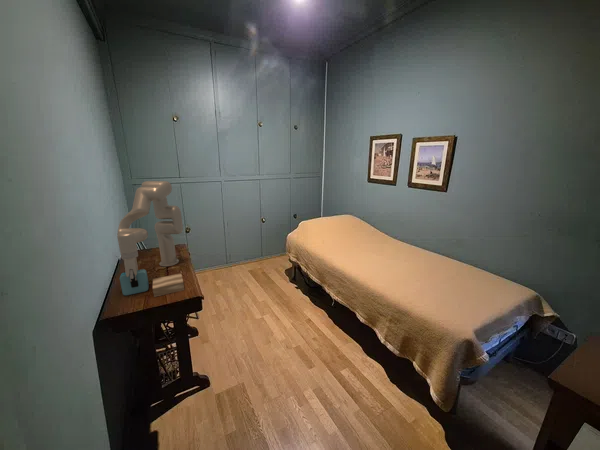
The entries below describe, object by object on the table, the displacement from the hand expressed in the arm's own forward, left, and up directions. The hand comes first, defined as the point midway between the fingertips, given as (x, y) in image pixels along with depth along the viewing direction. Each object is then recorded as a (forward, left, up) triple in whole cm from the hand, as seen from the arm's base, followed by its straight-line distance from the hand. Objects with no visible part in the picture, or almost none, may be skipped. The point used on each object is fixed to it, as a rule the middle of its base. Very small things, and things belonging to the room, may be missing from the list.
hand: (135, 284), depth 133 cm
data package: (0, 0, -5) cm, 5 cm away
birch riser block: (+5, +16, -4) cm, 17 cm away
